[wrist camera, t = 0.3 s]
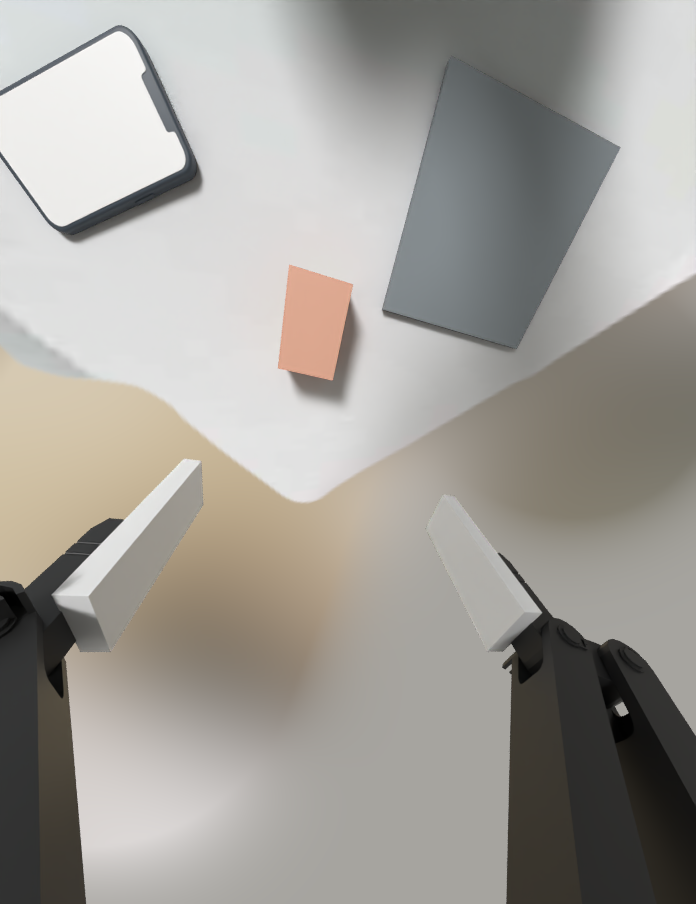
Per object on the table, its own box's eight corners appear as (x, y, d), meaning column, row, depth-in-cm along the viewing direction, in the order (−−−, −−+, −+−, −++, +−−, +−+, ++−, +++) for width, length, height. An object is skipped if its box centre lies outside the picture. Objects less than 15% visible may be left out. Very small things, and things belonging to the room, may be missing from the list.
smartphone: (71, 241, 26) (205, 178, 25) (56, 237, 25) (197, 170, 23) (-16, 119, 22) (140, 33, 20) (-39, 106, 20) (126, 12, 19)
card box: (294, 273, 29) (289, 264, 24) (347, 289, 30) (353, 284, 25) (284, 361, 33) (277, 368, 28) (330, 371, 35) (332, 380, 30)
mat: (447, 63, 22) (451, 55, 22) (612, 151, 26) (620, 147, 26) (382, 309, 31) (383, 309, 31) (512, 348, 35) (516, 348, 35)
